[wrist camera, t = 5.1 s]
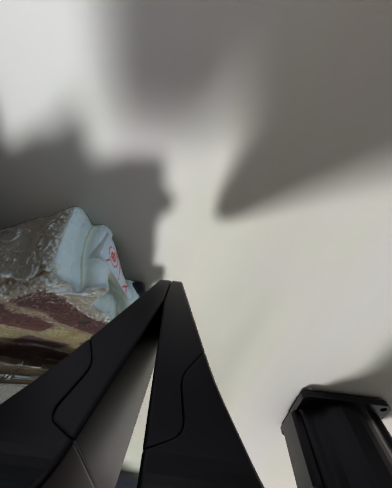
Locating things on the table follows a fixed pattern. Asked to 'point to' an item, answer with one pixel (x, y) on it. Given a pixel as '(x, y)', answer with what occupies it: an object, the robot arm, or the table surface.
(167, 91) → the table surface
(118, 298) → the chocolate cake
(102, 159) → the table surface
